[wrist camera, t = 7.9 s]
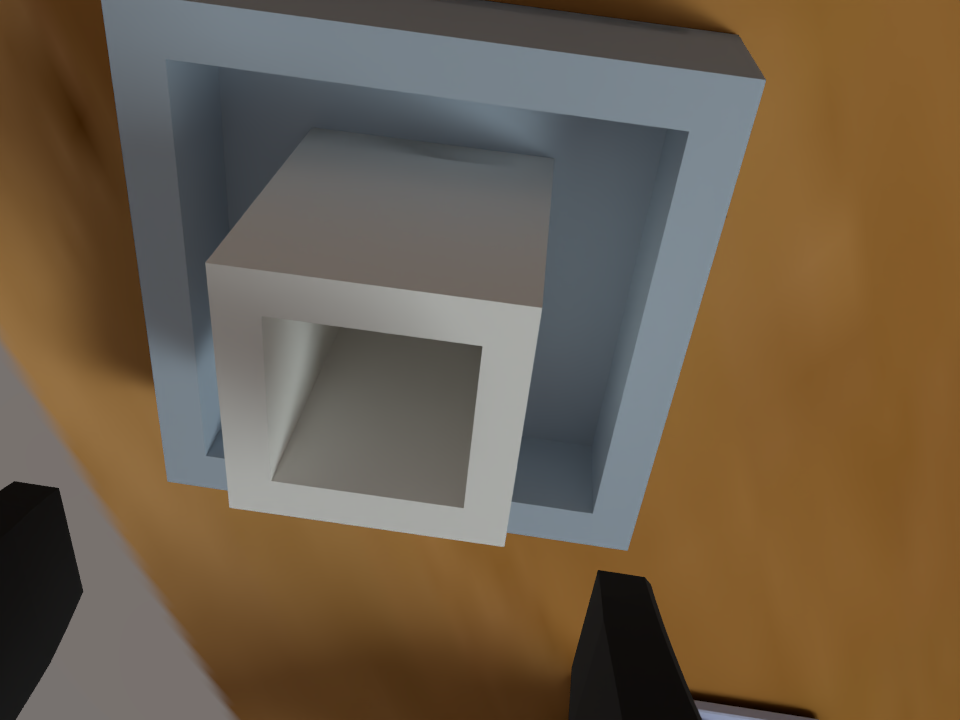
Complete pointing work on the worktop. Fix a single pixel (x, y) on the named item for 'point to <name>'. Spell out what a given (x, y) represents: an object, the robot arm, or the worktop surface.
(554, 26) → the big crate
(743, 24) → the worktop surface
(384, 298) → the box
